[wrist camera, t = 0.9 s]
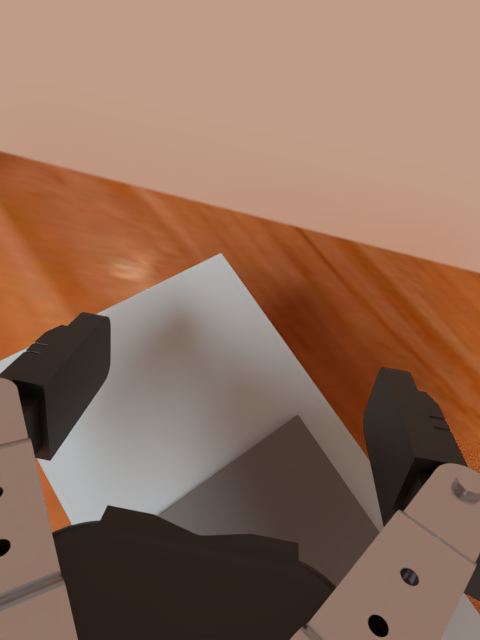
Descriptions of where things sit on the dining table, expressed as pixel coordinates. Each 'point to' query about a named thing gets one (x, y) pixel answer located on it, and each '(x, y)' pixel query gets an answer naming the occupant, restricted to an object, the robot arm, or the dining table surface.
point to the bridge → (198, 406)
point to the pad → (283, 502)
